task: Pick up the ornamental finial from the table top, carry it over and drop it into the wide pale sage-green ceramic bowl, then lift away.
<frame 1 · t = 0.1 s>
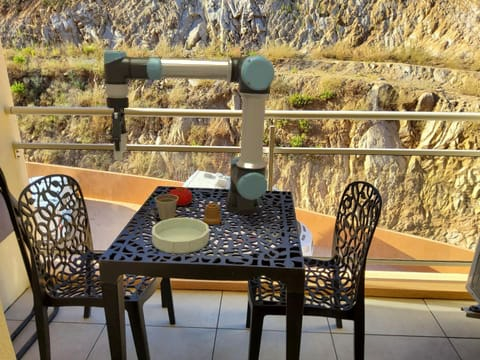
hand: (120, 155, 142), 28 cm above the table, tool pointing down, fingers open, 13 cm apart
flower pot: (167, 218, 159), on the table
bowl: (180, 240, 140), on the table
tomato: (180, 203, 175), on the table
ornamental finial: (212, 222, 156), on the table
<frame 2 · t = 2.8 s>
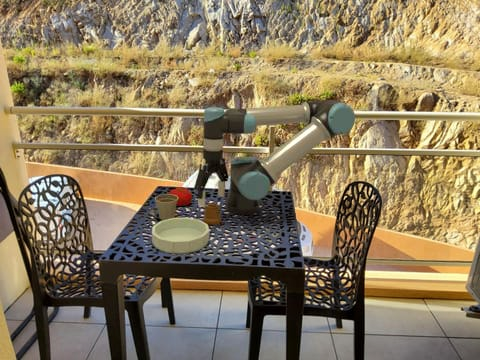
hand: (211, 201, 153), 9 cm above the table, tool pointing down, fingers open, 13 cm apart
nothing on the table moved.
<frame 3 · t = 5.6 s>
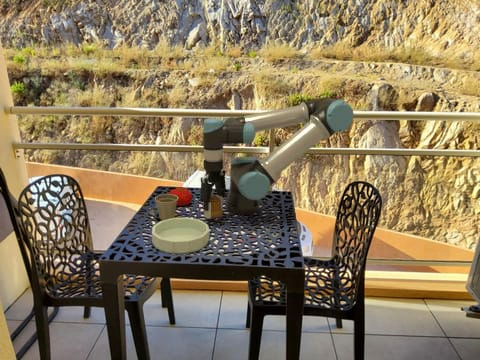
hand: (213, 214, 155), 3 cm above the table, tool pointing down, fingers closed on ornamental finial, 7 cm apart
ornamental finial: (213, 215, 155), point 3 cm above the table, touching gripper
everything else where it was.
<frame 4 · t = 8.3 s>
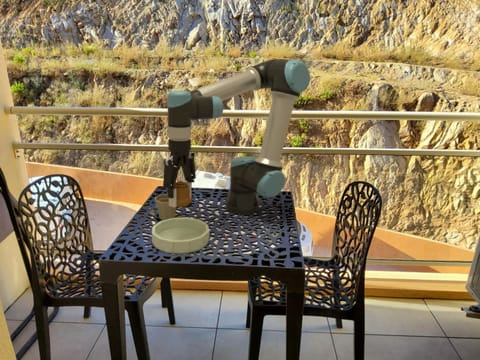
hand: (180, 202, 135), 15 cm above the table, tool pointing down, fingers closed on ornamental finial, 7 cm apart
ornamental finial: (180, 204, 135), point 14 cm above the table, touching gripper
everything else where it was.
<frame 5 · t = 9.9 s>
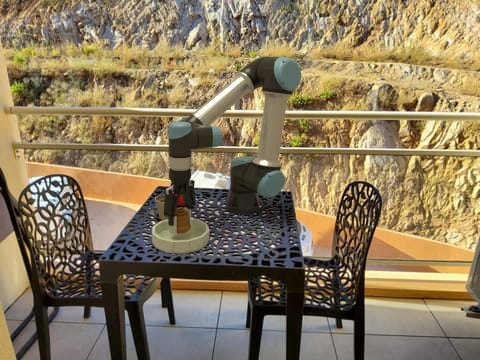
hand: (180, 229, 138), 4 cm above the table, tool pointing down, fingers closed on ornamental finial, 7 cm apart
ornamental finial: (180, 230, 138), point 4 cm above the table, touching gripper
everything else where it was.
when the fingers open (2 cm above the table, at t = 11.2 s): ornamental finial stays where it is, resting on bowl.
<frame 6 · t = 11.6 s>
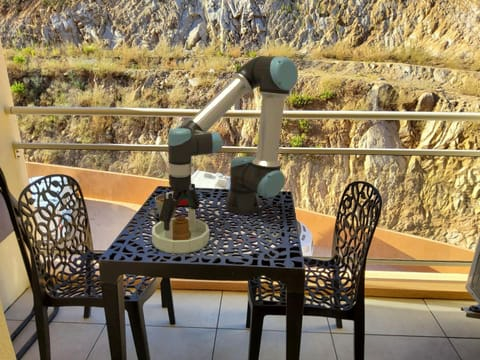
hand: (180, 231, 139), 3 cm above the table, tool pointing down, fingers open, 12 cm apart
ornamental finial: (180, 238, 139), point 1 cm above the table, touching bowl
everything else where it was.
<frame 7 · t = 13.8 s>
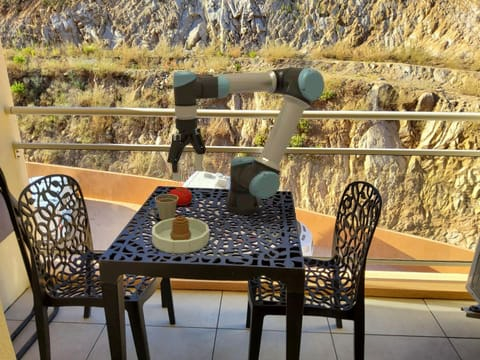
hand: (188, 175, 140), 22 cm above the table, tool pointing down, fingers open, 13 cm apart
nothing on the table moved.
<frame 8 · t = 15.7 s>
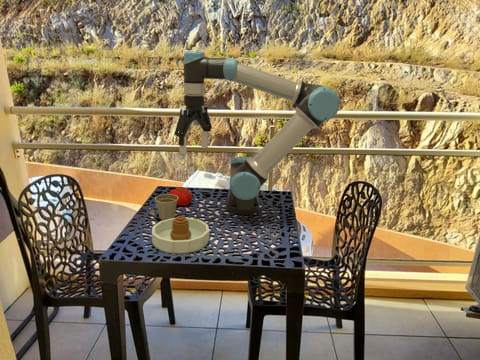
hand: (194, 150, 150), 29 cm above the table, tool pointing down, fingers open, 13 cm apart
nothing on the table moved.
at the end: ornamental finial inside the target area on the bowl (0.0 cm from its centre), point 0.8 cm above the bowl's base; the gripper is holding nothing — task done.
